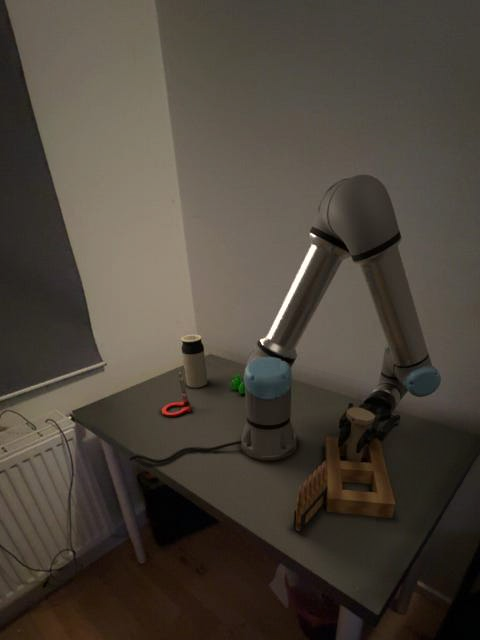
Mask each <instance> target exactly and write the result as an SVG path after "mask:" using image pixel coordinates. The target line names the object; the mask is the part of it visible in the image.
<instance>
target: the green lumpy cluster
mask: <svg viewBox="0 0 480 640" xmlns="http://www.w3.org/2000/svg"><path fill="white" fill-rule="evenodd" d="M231 385H232V386H231ZM229 387H230V390H232V391H235V392H236V391H238V394H239V395H241V396H242V395H245V384H244V378H243V377H242V376H241V375H239V374H234V375H233V376H232V380H231V382H230V383H229Z"/></svg>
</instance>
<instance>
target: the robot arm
mask: <svg viewBox="0 0 480 640" xmlns="http://www.w3.org/2000/svg"><path fill="white" fill-rule="evenodd" d="M393 205H394V204H393V202H392V199H391V196H390V193H389V191H388V190H387V188H386V186H385V185H384V183H383V182H382V181H380V180H379V179H378V178H377V177H375V176H372V175H369V174H357V175H353V176H352V177H347V178H342V179H340V180H338V181H336V182H335V183H333V184H332V185H331V186H330V187H329V188H328V189H327V190H326V191H325V193H324V194H323V196H322V197H321V200H320V202H319V206H318V210H317V215H316V217H315V219H314V221H313V224H312V225H311V228H310V230H309V232H308V236H309V241H310V245H309V247H308V248H307V251H306V253H305V255H304V257H303V259H302V262H301V263H300V266H299V267H298V269H297V272H296V274H295V276H294V278H293V280H292V282H291V284H290V286H289V288H288V290H287V293H286V295H285V297H284V299H283V301H282V303H281V305H280V307H279V309H278V311H277V313H276V315H275V318H274V319H273V321H272V324H271V326H270V328H269V329H268V332H267V333H266V334H264V335H261V336H259V338H258V340H257V342H256V344H255V346H254V348H252V350H251V351H250V352H249V354H248V356H247V358H246V362H245V369H244V373H243V381H244V382H243V384H245V393H244V395H245V416H246V422H245V424H244V428H243V430H242V434H241V437H240V440H237V441H231V442H228V443H223V444H219V445H216V446H212V447H211V446H210V447H199V446H190V447H184V448H181V449H179V450H177V451H176V452H174V453H172V454H171V455H169V456H168V457H165V458H161V459H155V458H151V457H148V456H146V455H142V454H133V455H132V456H130V457H129V461H134V459H143V460H145V461H147V462H150V463H155V464H161V463H166V462H169V461H170V460H172V459H174V458H175V457H177V456H179V455H180V454H182V453H185V452H189V451H200V452H211V451H217V450H220V449H224V448H228V447H231V446H236V445H240V448H241V450H242V452H243V453H244V454H245V455H246V456H248V457H250V458H252V459H253V460H256V461H257V460H258V461H262V462H273V461H274V462H275V461H279V460H280V461H281V460H283V459H286V458H288V457H290V456H291V455H293V453H294V452H295V451H296V449H297V432H296V429H294V427H293V425H292V422H291V415H292V414H291V413H292V412H291V411H292V409H291V408H292V385H293V374H292V367H293V365H294V363H295V361H296V359H297V358H298V352H297V349H296V348H297V346H298V345H299V343H300V340H301V339H302V337H303V335H304V334H305V331H306V329H307V327H309V325H310V322H311V320H312V319H313V316H314V314H315V313H316V311H317V309H318V307H319V305H320V303H321V301H322V300H323V298H324V296H325V293H326V292H327V290H328V288H329V287H330V285H331V283H332V282H333V279H334V278H335V275H336V274H337V272H338V270H339V268H340V267H341V264H342V262H343V261H344V260H346V259H349V258H351V259H352V260H351V261H352V262H353V263H354V264H357V265H359V266H360V269H361V272H362V274H363V278H364V281H365V283H366V286H367V289H368V292H369V294H370V298H371V300H372V303H373V306H374V310H375V312H376V315H377V317H378V320H379V323H380V326H381V329H382V331H383V334H384V335H383V336H384V337H385V340H386V342H385V347H384V352H383V357H382V366H381V369H380V375H379V381H378V384H377V385H376V387H375V388H374V389H373V390H372V391H371V392H370V393H369V395H368V396H367V397H366V399H365V400H364V401H363V403H360V404H359V405H358V406H357V405H354V404H353V403H352V402H349V403H348V405H347V408H346V410H345V411H344V413H343V414H342V415H341V417H339V423H338V429H340V431H339V436H338V437H339V439H338V447H340V448H341V447H342V445H343V444H344V443H345V442H346V440H347V439H348V438H349V434H350V429H351V423H352V422H351V421H350V420H349V419H348V418H347V416H346V412H347V410H348V409H350V408H353V407H357V408H362V409H365V410H368V411H370V412H371V413H373V414H374V415H375V420H374V422H373V423H372V424H371V428H370V429H367V428H366V432H365V433H364V434H363V436H362V437H361V438H360V440H359V441H358V442H357V448H356V453H360V451H361V450H362V449H363V447H364V446H365V444H366V445H370V444H371V443H372V441H373V440H375V439H378V440H379V441H380V442H383V441H384V440H385V439H386V437H388V435H390V433H391V431H392V430H393V429H394V428H396V427H398V426H399V425H400V421H401V415H400V414H395V415H393V412H394V411H395V409H396V408H397V407H398V405H399V404H400V402H401V401H402V399H403V398H404V396H406V394H407V393H408V392H409V394H411V396H414V397H417V398H423V397H428V396H429V395H432V394H433V393H435V392H436V391H437V390H438V388H439V387H440V385H441V382H442V376H441V374H440V372H439V371H438V369H437V368H436V367H435V366H433V363H432V360H431V357H430V356H431V355H430V354H429V351H428V347H427V343H426V341H425V336H424V333H423V330H422V326H421V323H420V320H419V316H418V312H417V309H416V305H415V301H414V298H413V295H412V291H411V288H410V285H409V281H408V277H407V274H406V269H405V267H404V263H403V260H402V257H401V252H400V249H399V245H400V243H401V241H402V234H401V231H400V227H399V224H398V223H399V222H398V219H397V216H396V213H395V210H394V206H393ZM382 422H385V423H384V425H382V427H381V428H380V429H379V425H380V423H382Z"/></svg>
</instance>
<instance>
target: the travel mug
mask: <svg viewBox="0 0 480 640" xmlns="http://www.w3.org/2000/svg"><path fill="white" fill-rule="evenodd" d="M202 339H203V337H202V335H200V334H187V335H184V336H182V337H181V338H180V341H181V342H182V345H181V355H182V361H183V368H184V375H185V382H186V386H187V387H189V388H202V387H204V386H206V385H207V384H208V373H207V364H206V355H205V347H204V344H203V342H202Z"/></svg>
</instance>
